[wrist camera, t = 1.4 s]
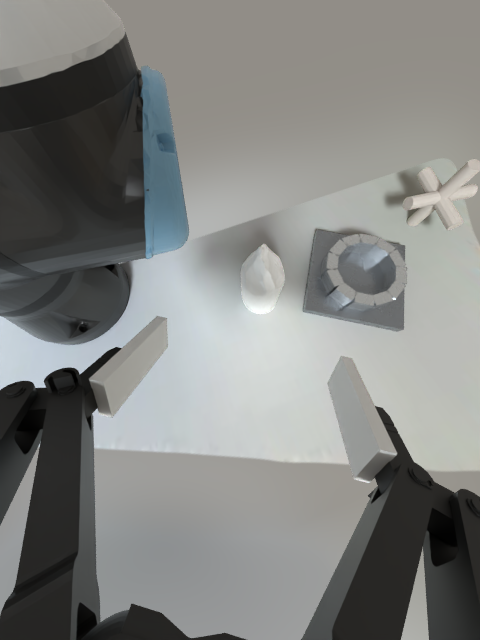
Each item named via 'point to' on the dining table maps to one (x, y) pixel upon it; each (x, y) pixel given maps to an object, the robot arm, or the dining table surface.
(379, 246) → the collar
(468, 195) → the pipe connector
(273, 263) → the white faceted pointed piece
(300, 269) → the dining table surface
